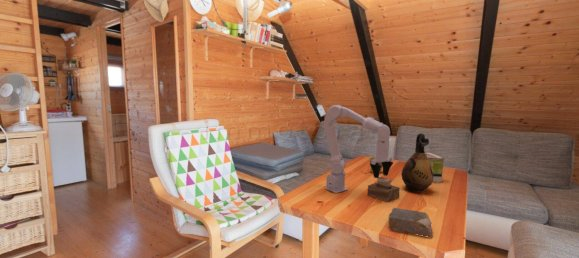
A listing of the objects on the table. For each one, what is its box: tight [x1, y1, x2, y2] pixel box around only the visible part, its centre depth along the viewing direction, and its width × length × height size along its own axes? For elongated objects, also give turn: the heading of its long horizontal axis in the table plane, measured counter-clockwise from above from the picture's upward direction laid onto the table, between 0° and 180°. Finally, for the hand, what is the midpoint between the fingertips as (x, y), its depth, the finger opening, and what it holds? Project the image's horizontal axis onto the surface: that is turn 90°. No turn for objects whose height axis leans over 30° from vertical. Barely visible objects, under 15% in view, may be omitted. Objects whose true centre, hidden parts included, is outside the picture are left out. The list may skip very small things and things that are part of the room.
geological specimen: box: [388, 207, 433, 238], centre depth 103 cm, size 11×6×15 cm
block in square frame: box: [367, 182, 401, 203], centre depth 135 cm, size 10×11×5 cm
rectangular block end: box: [376, 176, 392, 190], centre depth 135 cm, size 2×6×7 cm, turn 36°
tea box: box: [425, 152, 445, 183], centre depth 166 cm, size 15×10×15 cm
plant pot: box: [368, 157, 383, 174], centre depth 178 cm, size 9×9×9 cm
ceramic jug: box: [401, 132, 434, 194], centre depth 145 cm, size 17×15×30 cm
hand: (380, 176), depth 137 cm, fingers open, 7 cm apart
